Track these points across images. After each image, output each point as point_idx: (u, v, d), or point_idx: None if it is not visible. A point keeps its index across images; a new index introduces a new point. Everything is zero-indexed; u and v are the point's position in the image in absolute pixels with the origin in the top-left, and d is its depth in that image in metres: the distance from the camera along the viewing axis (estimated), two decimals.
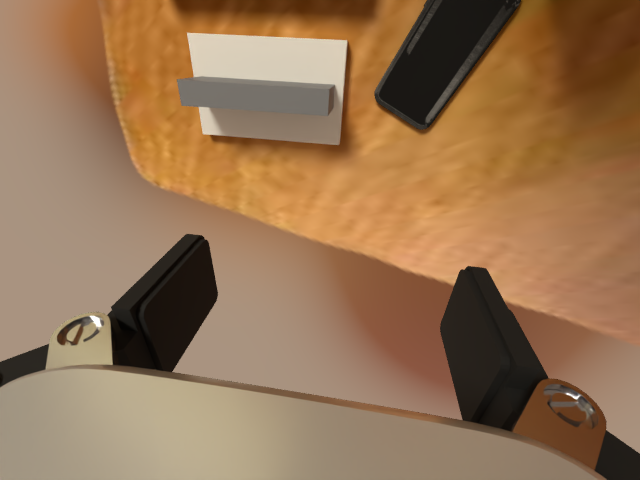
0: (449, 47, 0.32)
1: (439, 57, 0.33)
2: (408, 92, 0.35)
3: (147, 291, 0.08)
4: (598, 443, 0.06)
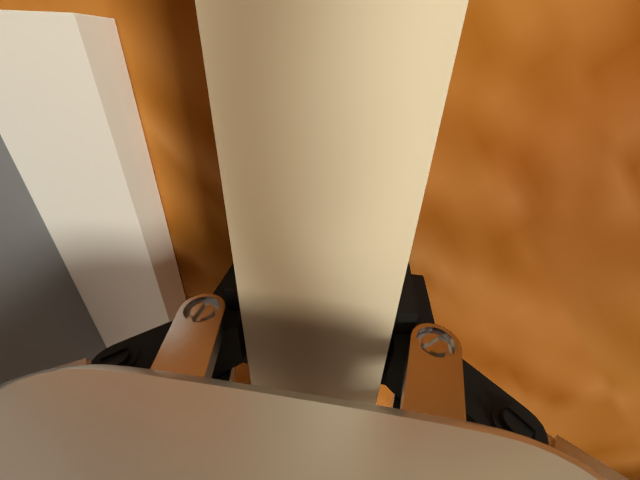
0: None
1: None
2: None
3: None
4: (460, 363, 0.07)
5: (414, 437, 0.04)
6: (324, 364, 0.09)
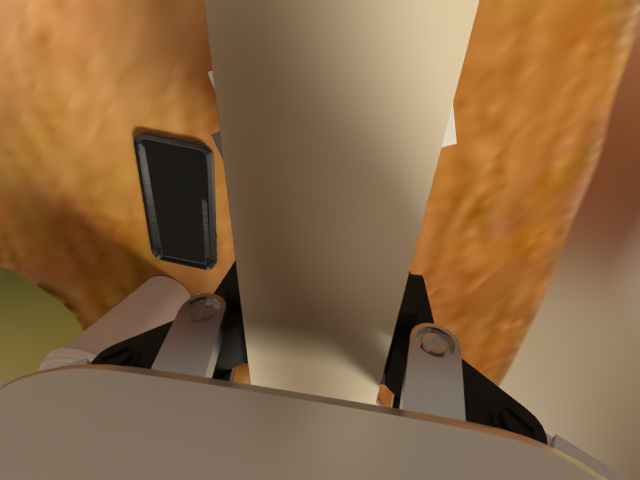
0: (174, 213, 0.33)
1: (176, 204, 0.32)
2: (179, 167, 0.30)
3: None
4: (459, 363, 0.07)
5: (414, 437, 0.04)
6: (324, 363, 0.09)
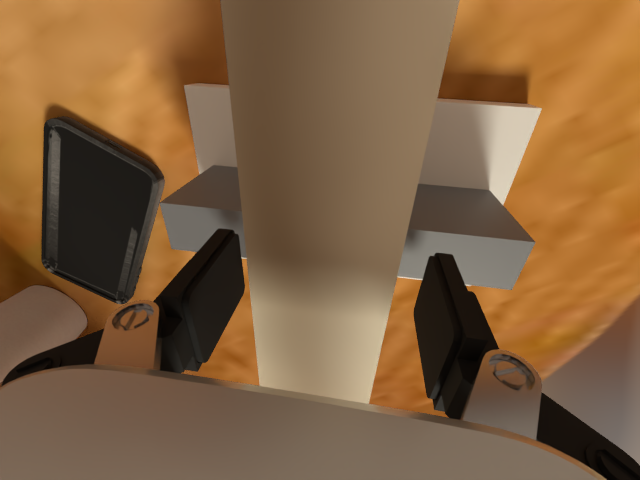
0: (86, 230, 0.24)
1: (91, 221, 0.23)
2: (108, 180, 0.21)
3: (190, 281, 0.09)
4: (537, 402, 0.06)
5: (414, 437, 0.04)
6: (326, 342, 0.09)
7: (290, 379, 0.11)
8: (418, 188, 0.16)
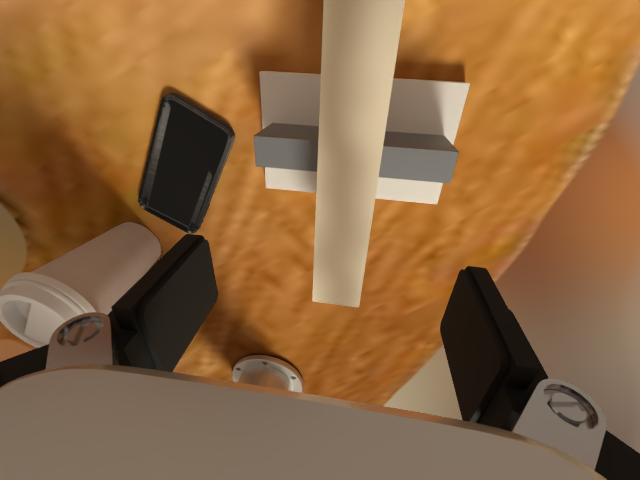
0: (175, 174, 0.34)
1: (181, 167, 0.34)
2: (198, 136, 0.32)
3: (147, 291, 0.08)
4: (598, 443, 0.06)
5: (414, 437, 0.04)
6: (351, 187, 0.20)
7: (331, 215, 0.21)
8: (400, 134, 0.27)
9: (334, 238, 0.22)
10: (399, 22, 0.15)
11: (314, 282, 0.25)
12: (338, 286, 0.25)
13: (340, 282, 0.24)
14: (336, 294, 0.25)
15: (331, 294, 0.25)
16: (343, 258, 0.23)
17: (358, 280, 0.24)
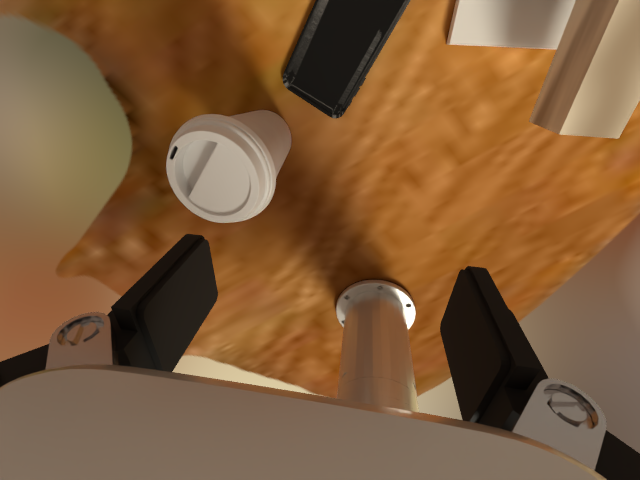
0: (337, 37, 0.30)
1: (346, 26, 0.30)
2: None
3: (147, 291, 0.08)
4: (598, 443, 0.06)
5: (414, 437, 0.04)
6: None
7: None
8: None
9: (634, 24, 0.18)
10: None
11: (574, 102, 0.21)
12: (605, 106, 0.21)
13: (610, 99, 0.21)
14: (596, 119, 0.21)
15: (590, 120, 0.21)
16: (631, 58, 0.19)
17: (637, 94, 0.20)
